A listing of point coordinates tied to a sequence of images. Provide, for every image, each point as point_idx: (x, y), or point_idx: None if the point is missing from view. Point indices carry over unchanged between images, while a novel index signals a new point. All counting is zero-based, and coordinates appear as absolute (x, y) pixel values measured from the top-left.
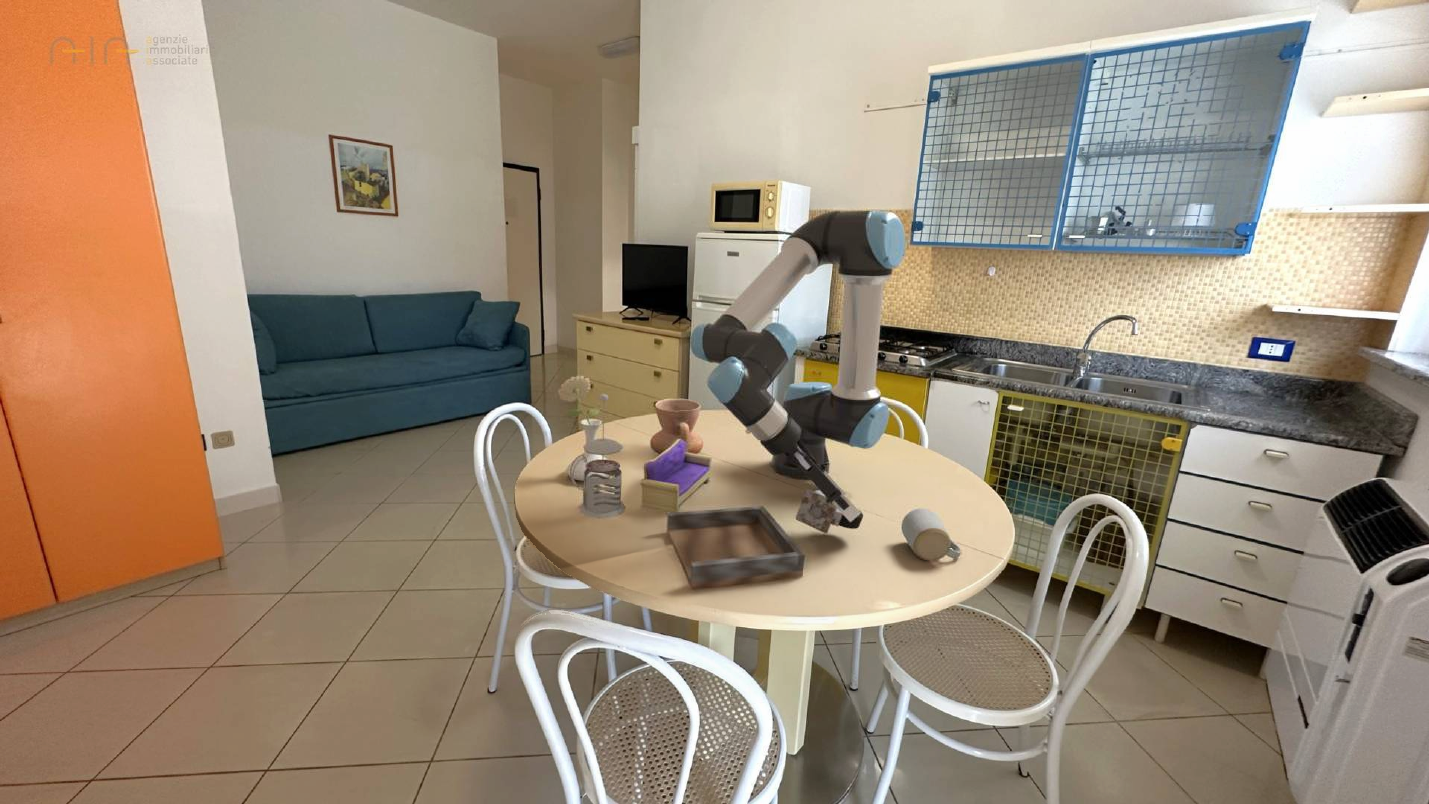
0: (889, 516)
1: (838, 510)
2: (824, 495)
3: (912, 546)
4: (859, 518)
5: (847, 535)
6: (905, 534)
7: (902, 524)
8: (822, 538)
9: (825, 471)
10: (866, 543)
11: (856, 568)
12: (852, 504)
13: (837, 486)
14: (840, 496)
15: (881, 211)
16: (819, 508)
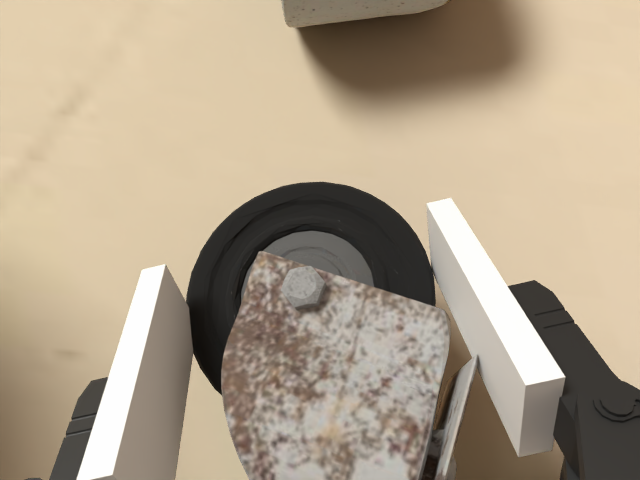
0: (76, 62)
1: (418, 336)
2: (381, 459)
3: (437, 3)
4: (390, 208)
5: None
6: (350, 13)
7: (297, 6)
8: None
9: (87, 477)
10: None
11: (565, 253)
12: (482, 253)
13: (155, 328)
14: (613, 373)
15: None
16: (448, 473)
